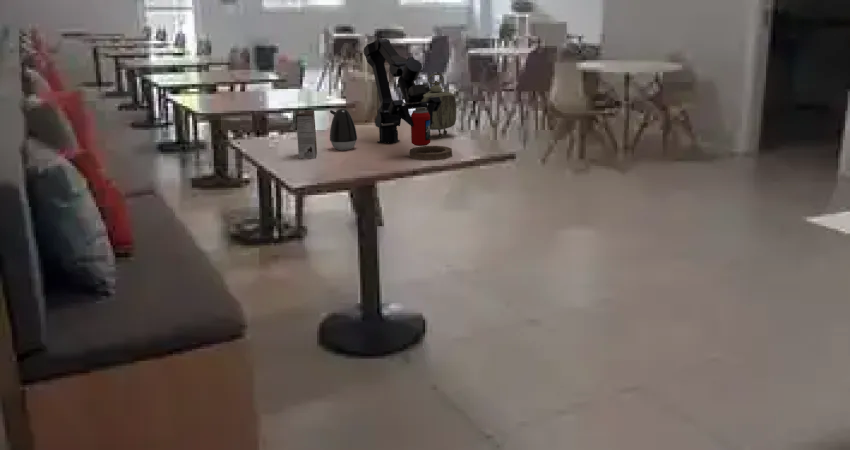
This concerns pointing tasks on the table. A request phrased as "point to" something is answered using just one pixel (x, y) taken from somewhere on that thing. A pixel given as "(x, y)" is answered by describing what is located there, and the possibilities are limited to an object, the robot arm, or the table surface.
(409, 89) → the robot arm
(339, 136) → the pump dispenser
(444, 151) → the walnut ring
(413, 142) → the beverage can
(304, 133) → the coffee box
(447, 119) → the tabletop clock
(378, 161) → the table surface
